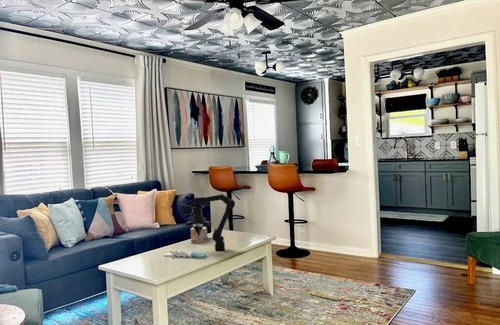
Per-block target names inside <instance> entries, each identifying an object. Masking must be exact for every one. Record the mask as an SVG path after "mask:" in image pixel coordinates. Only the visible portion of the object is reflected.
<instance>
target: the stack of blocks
mask: <svg viewBox="0 0 500 325" xmlns="http://www.w3.org/2000/svg"><path fill="white" fill-rule="evenodd" d="M204 239H205V240H206V239H208V227H203V228H202V230H201V233H200V236H198V234H197V232H196V231H195V229H194V228H193V227H191V228H190V242H191V243H190V244H191V245H192V244H193V245H194V244H196V245H198V243H199V244H200V243H202V242H203V241H205V240H204Z"/></svg>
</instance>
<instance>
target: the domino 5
mask: <svg viewBox="0 0 500 325" xmlns="http://www.w3.org/2000/svg"><path fill="white" fill-rule="evenodd" d="M206 255H207V254H206V253H204V252H203V253H202V252H199V251H193V252H192V253H191V256H195V257H199V258H204V257H206Z"/></svg>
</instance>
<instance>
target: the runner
mask: <svg viewBox="0 0 500 325" xmlns="http://www.w3.org/2000/svg"><path fill="white" fill-rule="evenodd" d="M210 257H211V255H207V254H206V257H204V258H199V257H195V256H194V257H192V258H190V257H188V256H187V257H186V258H185V257H183V256H181V257H178V256H176V257H171V259H181V260H182V259H183V260H200V261H202V260H204V261H205V260H206V259H209V258H210Z"/></svg>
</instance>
